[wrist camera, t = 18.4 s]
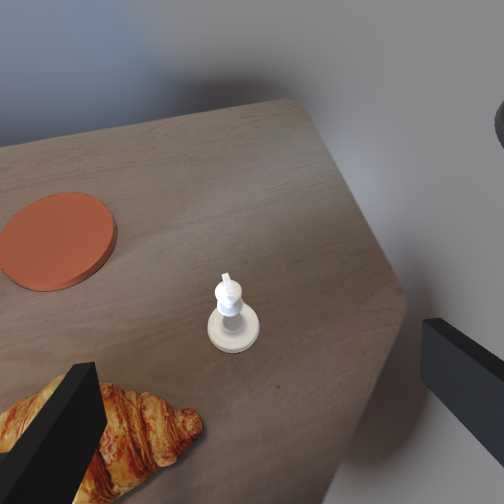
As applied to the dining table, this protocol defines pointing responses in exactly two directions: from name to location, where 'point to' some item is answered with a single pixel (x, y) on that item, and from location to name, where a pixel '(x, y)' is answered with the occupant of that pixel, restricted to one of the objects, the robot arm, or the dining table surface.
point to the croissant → (117, 438)
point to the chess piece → (232, 319)
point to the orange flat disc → (57, 241)
